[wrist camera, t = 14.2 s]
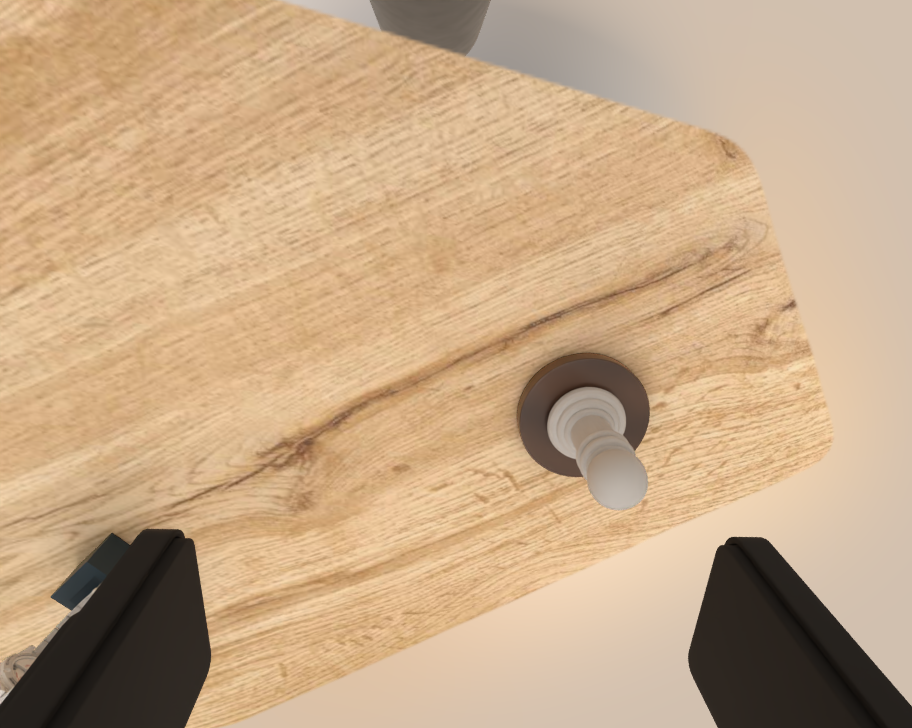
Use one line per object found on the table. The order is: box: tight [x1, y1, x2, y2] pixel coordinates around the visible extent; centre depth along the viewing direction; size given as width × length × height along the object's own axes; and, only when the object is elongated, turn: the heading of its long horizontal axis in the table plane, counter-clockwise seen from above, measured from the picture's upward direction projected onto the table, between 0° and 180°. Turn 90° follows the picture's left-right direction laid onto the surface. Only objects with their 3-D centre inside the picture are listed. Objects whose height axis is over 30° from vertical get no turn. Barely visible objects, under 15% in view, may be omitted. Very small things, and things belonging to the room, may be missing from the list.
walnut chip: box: [517, 353, 650, 477], centre depth 38 cm, size 9×9×1 cm
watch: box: [0, 533, 130, 704], centre depth 36 cm, size 6×8×11 cm
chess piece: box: [547, 387, 648, 510], centre depth 33 cm, size 5×5×9 cm
